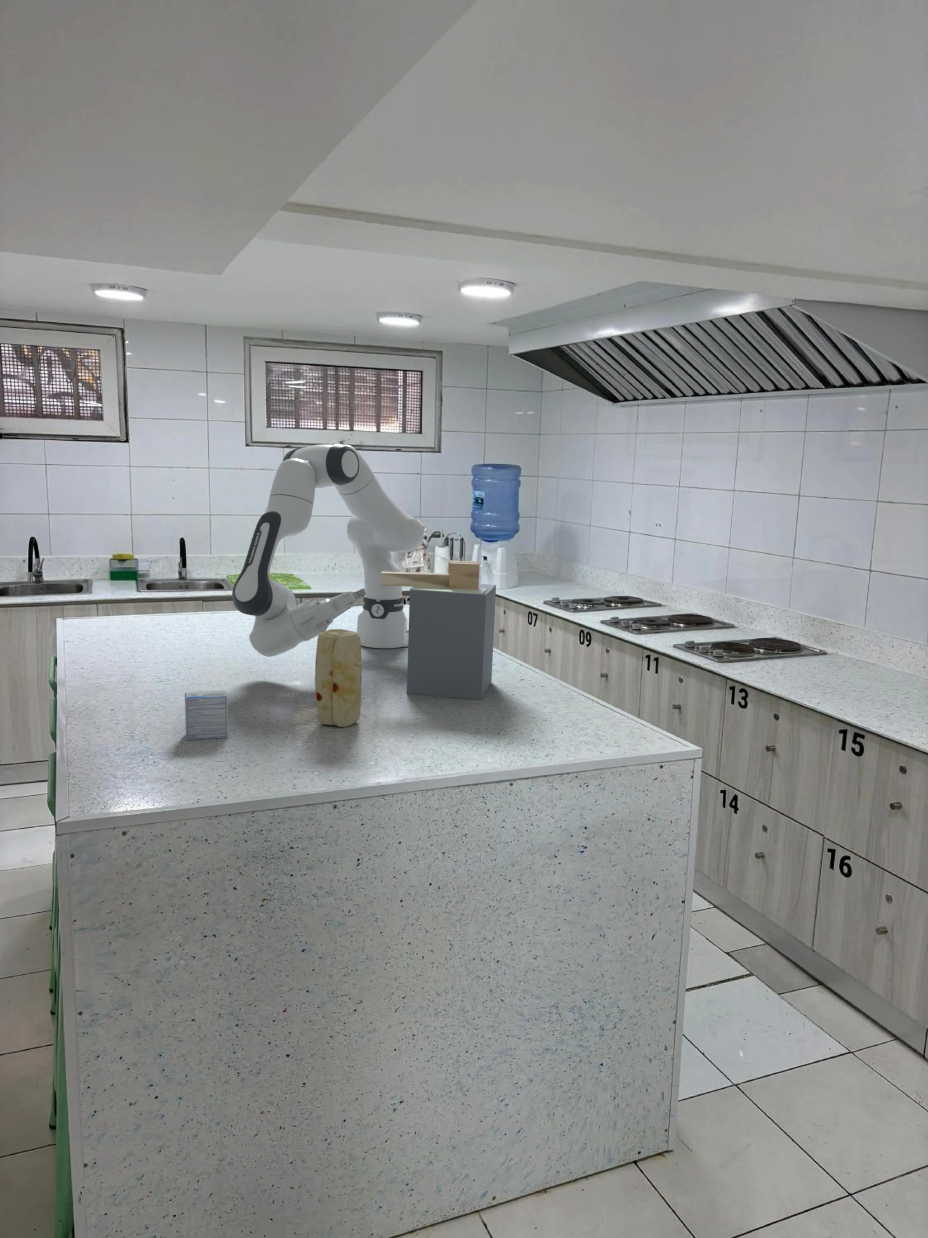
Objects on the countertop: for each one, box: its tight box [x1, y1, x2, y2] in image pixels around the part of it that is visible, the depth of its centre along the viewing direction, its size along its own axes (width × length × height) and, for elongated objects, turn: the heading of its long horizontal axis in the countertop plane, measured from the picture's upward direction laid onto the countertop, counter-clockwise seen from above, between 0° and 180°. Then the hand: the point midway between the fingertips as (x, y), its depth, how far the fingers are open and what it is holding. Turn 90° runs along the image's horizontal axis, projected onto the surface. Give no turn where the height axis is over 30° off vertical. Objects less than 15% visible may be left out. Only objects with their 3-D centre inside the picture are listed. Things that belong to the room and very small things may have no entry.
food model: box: [314, 628, 363, 728], centre depth 182 cm, size 10×7×20 cm
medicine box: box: [184, 689, 229, 741], centre depth 172 cm, size 8×4×9 cm, turn 108°
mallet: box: [381, 560, 480, 590], centre depth 210 cm, size 6×23×6 cm, turn 94°
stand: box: [406, 583, 497, 701], centre depth 214 cm, size 17×18×25 cm
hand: (359, 593), depth 211 cm, fingers open, 8 cm apart
